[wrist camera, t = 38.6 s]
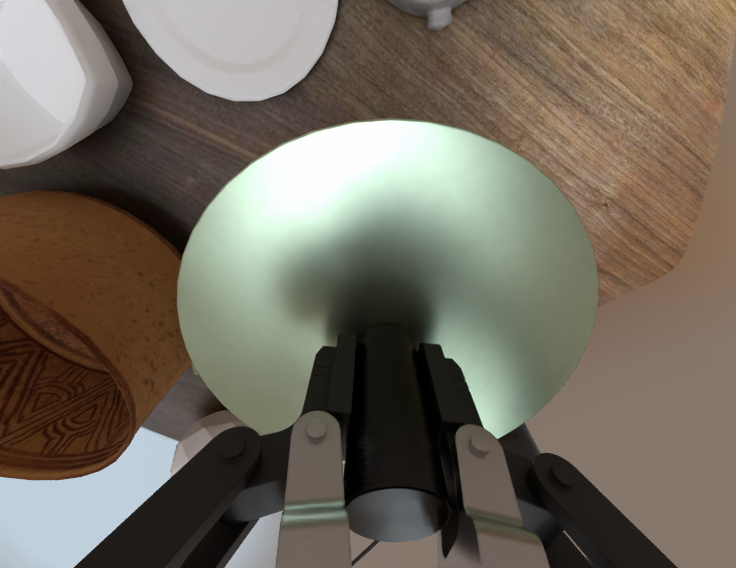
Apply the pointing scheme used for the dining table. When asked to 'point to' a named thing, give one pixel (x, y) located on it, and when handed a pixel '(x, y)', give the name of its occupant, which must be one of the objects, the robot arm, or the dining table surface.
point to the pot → (81, 332)
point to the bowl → (54, 79)
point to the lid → (388, 295)
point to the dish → (430, 10)
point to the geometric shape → (202, 436)
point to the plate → (237, 41)
